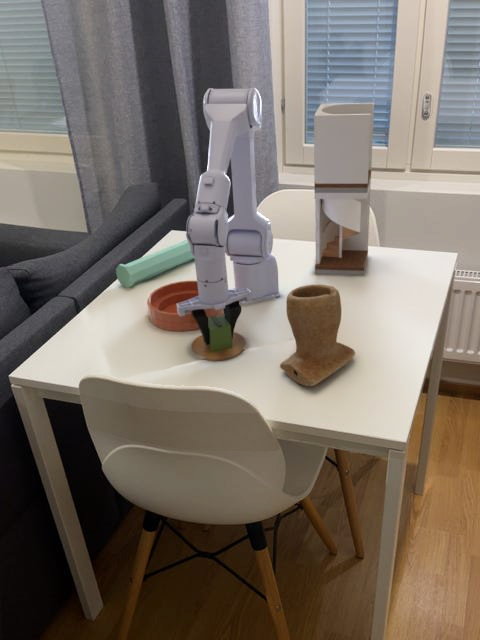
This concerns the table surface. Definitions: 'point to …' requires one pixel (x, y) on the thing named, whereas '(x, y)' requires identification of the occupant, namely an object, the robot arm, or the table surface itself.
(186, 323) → the bowl
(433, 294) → the table surface
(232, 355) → the coaster
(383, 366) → the table surface
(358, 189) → the spiral staircase tower
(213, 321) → the green grooved block
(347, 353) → the stone cup
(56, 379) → the table surface
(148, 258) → the container
